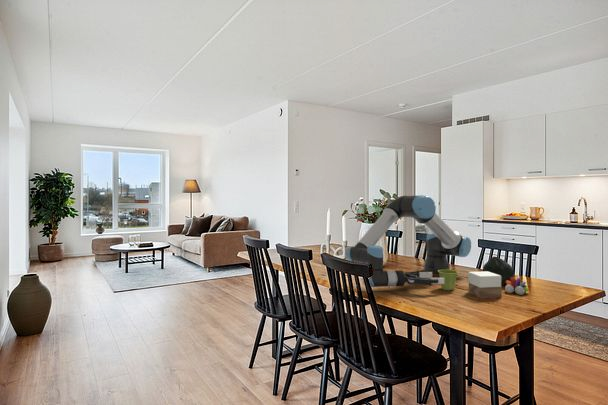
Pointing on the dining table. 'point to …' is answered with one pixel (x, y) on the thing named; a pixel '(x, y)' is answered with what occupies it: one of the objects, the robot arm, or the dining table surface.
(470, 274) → the pale top block
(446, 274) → the plant pot
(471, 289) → the walnut base block
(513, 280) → the rainbow petal cluster
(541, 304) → the dining table surface
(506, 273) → the squash
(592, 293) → the dining table surface
